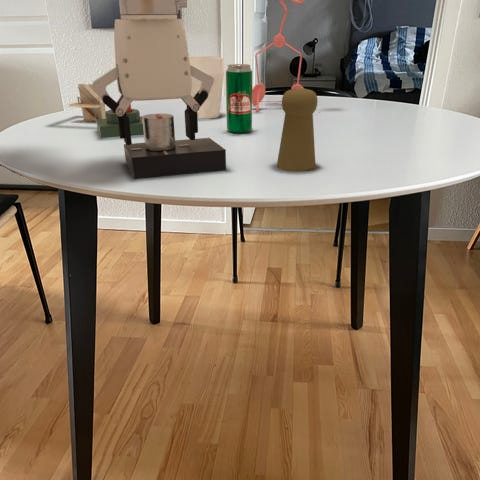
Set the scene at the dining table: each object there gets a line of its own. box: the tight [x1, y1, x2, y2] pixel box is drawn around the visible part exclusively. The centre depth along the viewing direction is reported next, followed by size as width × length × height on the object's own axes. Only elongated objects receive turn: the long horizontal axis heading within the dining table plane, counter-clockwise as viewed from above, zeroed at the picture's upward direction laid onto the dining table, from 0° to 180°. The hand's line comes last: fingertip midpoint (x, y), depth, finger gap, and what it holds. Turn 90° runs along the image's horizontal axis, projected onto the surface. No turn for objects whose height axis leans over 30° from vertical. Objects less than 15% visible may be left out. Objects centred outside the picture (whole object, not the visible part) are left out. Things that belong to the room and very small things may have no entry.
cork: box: [276, 87, 318, 172], centre depth 75 cm, size 6×6×11 cm
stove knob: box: [141, 112, 176, 151], centre depth 74 cm, size 5×5×5 cm
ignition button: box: [113, 103, 132, 113], centre depth 98 cm, size 4×4×2 cm
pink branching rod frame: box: [252, 0, 321, 114], centre depth 116 cm, size 15×26×35 cm, turn 76°
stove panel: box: [123, 137, 227, 179], centre depth 77 cm, size 14×9×3 cm, turn 109°
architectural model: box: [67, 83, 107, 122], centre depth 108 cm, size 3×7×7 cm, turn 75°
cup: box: [189, 56, 225, 120], centre depth 112 cm, size 9×9×12 cm
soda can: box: [225, 63, 253, 135], centre depth 97 cm, size 5×5×12 cm
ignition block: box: [95, 108, 144, 139], centre depth 99 cm, size 10×8×4 cm
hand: (159, 140), depth 75 cm, fingers open, 9 cm apart
